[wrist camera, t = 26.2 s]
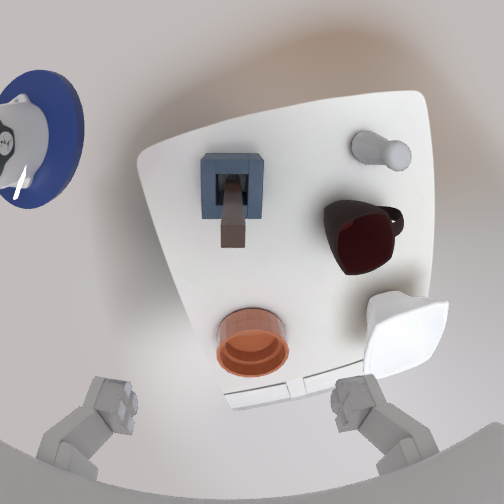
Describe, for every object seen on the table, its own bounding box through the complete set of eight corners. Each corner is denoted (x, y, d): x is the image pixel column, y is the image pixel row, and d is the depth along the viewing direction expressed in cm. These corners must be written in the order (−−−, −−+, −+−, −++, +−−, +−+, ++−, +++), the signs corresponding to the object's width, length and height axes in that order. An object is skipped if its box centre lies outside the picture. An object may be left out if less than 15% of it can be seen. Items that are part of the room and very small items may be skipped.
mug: (307, 199, 47) (329, 224, 36) (376, 178, 46) (413, 196, 35) (319, 248, 51) (341, 282, 41) (384, 226, 50) (416, 253, 39)
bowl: (344, 279, 55) (370, 323, 42) (420, 262, 55) (455, 296, 42) (341, 342, 63) (359, 385, 51) (408, 323, 63) (432, 360, 51)
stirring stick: (226, 184, 45) (220, 247, 24) (226, 172, 44) (220, 225, 23) (238, 184, 45) (244, 247, 24) (238, 172, 44) (245, 225, 23)
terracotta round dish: (219, 354, 62) (218, 377, 56) (216, 307, 56) (214, 330, 50) (280, 353, 63) (284, 375, 57) (286, 306, 57) (292, 328, 51)
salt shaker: (348, 163, 44) (384, 179, 33) (345, 130, 42) (382, 136, 30) (377, 160, 44) (418, 176, 33) (375, 129, 42) (417, 136, 30)
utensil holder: (206, 202, 46) (201, 219, 39) (206, 153, 42) (200, 159, 35) (256, 203, 47) (261, 219, 40) (258, 153, 43) (263, 160, 36)
